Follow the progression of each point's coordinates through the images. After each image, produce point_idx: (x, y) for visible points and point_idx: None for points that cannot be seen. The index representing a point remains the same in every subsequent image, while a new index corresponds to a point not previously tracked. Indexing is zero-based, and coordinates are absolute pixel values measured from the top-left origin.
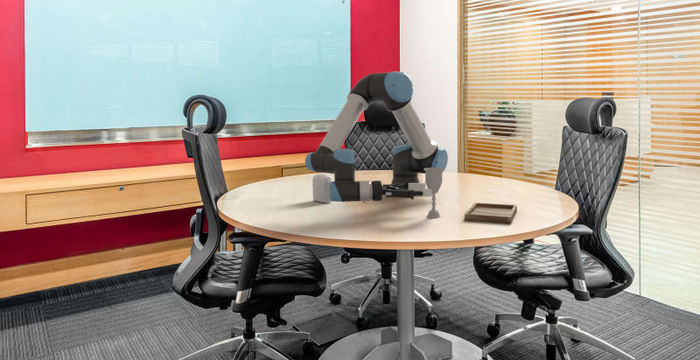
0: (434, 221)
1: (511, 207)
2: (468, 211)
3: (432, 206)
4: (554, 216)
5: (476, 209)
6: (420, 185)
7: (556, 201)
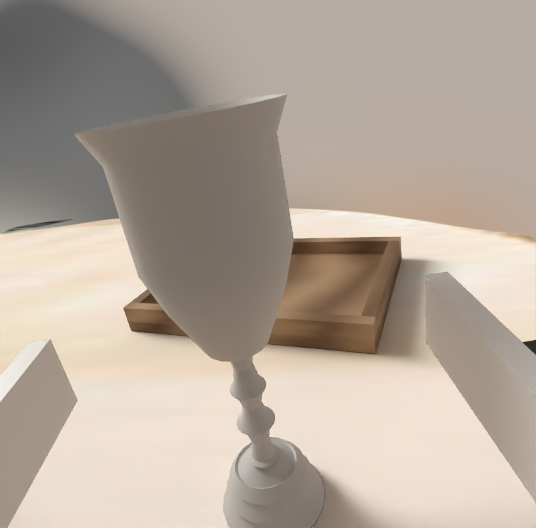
0: (442, 491)
1: None
2: (309, 316)
3: (260, 444)
4: None
5: None
6: (31, 396)
7: None
